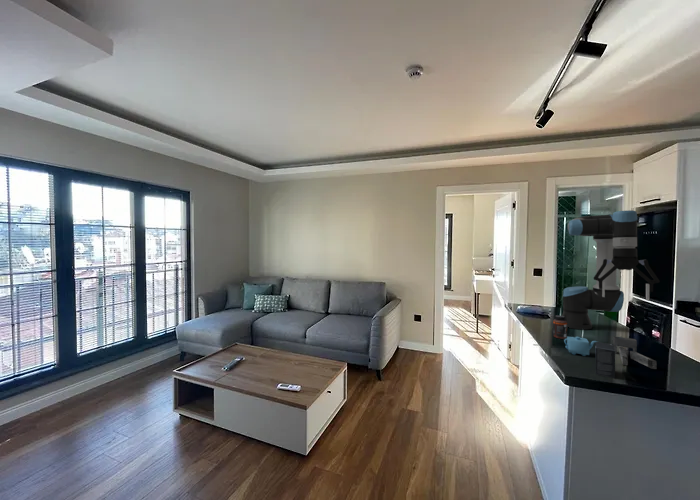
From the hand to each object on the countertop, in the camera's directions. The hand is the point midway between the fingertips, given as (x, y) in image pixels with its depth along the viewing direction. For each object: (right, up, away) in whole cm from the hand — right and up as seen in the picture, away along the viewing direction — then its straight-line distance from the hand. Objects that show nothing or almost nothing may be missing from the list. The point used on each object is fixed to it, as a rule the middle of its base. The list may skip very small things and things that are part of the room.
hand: (624, 298), depth 124 cm
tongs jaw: (+4, -26, -3) cm, 27 cm away
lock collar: (+7, -26, +7) cm, 28 cm away
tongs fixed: (+1, -26, +1) cm, 26 cm away
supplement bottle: (-5, -26, +31) cm, 41 cm away
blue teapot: (-12, -27, +9) cm, 30 cm away
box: (-18, -27, -11) cm, 34 cm away
